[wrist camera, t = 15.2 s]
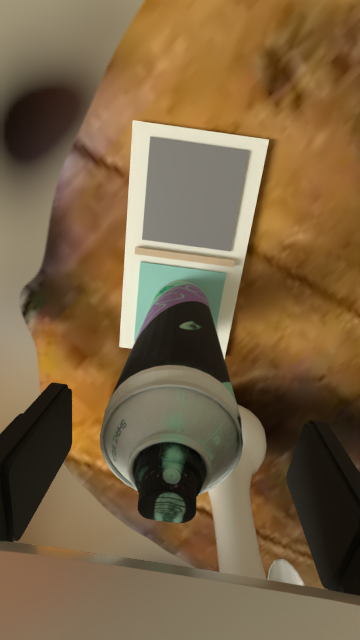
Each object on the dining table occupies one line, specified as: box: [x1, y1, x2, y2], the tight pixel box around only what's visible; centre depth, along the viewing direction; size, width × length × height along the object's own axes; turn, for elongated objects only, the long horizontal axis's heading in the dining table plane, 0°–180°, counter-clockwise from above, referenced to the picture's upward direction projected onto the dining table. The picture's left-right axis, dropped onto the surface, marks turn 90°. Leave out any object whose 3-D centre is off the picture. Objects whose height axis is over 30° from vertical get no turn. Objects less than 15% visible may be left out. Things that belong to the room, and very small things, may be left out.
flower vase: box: [208, 404, 305, 586], centre depth 21 cm, size 13×18×25 cm
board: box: [119, 120, 269, 359], centre depth 25 cm, size 11×20×2 cm, turn 173°
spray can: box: [100, 281, 243, 523], centre depth 17 cm, size 6×6×20 cm
